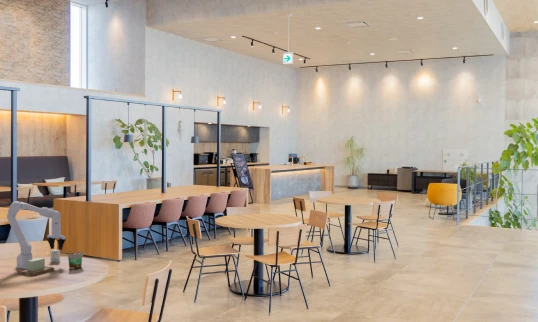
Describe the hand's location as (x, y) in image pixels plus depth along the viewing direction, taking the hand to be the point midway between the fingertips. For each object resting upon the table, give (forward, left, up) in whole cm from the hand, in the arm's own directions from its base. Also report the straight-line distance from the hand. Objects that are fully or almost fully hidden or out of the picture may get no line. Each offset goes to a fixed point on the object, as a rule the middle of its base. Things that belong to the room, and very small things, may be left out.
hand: (56, 249), depth 353 cm
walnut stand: (+5, -21, -10) cm, 24 cm away
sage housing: (+5, -21, -8) cm, 23 cm away
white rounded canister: (-8, +6, -10) cm, 14 cm away
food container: (+21, -2, -11) cm, 24 cm away
